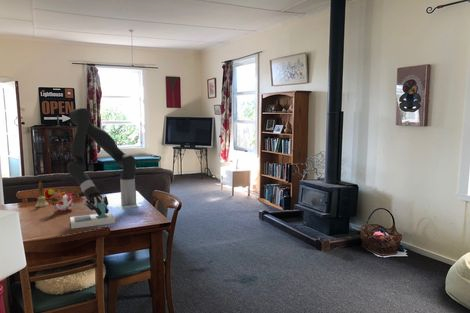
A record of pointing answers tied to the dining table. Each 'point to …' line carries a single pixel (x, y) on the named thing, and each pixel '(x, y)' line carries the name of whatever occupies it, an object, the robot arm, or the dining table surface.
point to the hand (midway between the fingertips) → (104, 213)
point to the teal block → (102, 210)
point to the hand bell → (41, 197)
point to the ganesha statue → (59, 199)
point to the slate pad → (82, 218)
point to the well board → (93, 221)
